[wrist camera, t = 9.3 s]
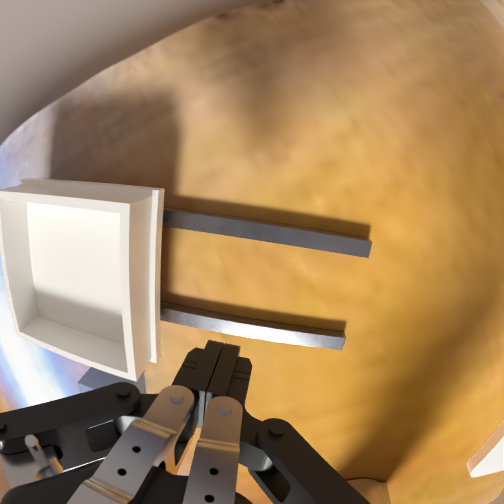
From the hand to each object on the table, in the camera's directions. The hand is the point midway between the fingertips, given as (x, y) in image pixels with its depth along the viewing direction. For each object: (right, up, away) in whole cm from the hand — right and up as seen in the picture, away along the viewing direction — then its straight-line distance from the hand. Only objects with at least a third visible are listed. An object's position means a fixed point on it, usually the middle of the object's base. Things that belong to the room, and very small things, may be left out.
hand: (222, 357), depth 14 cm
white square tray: (-11, +4, +9) cm, 15 cm away
